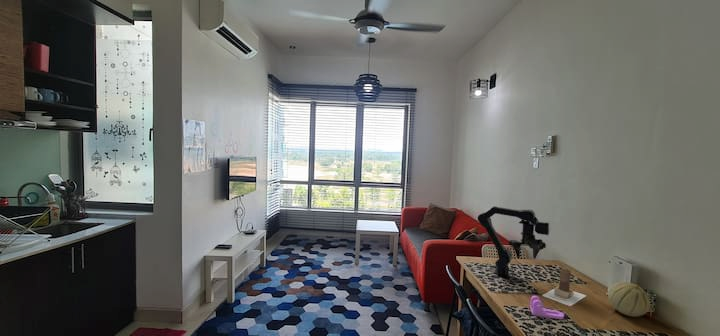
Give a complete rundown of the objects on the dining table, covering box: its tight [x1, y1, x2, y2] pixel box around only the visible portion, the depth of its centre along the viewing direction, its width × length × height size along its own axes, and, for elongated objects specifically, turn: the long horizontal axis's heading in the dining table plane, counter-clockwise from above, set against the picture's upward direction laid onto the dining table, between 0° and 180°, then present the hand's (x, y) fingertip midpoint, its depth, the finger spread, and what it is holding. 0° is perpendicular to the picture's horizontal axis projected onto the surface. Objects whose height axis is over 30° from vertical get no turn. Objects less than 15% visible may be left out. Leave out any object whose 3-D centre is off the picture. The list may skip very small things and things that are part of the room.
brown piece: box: [554, 268, 574, 299], centre depth 159 cm, size 7×6×13 cm
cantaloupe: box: [607, 281, 651, 318], centre depth 144 cm, size 15×15×15 cm
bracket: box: [530, 295, 565, 320], centre depth 142 cm, size 13×6×7 cm, turn 73°
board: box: [541, 285, 587, 307], centre depth 160 cm, size 20×13×1 cm, turn 126°
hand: (526, 258), depth 179 cm, fingers open, 9 cm apart
